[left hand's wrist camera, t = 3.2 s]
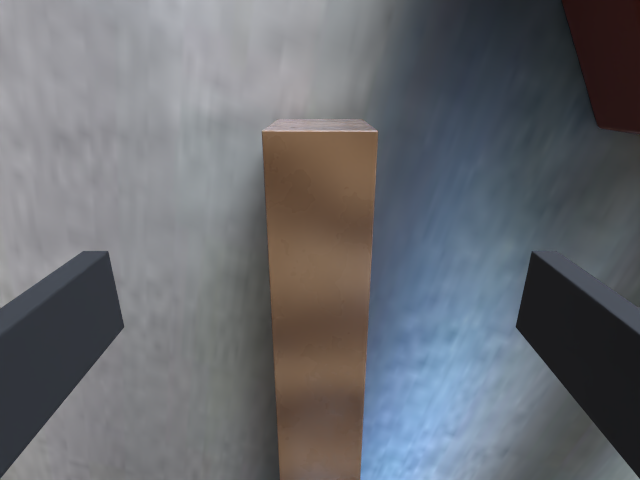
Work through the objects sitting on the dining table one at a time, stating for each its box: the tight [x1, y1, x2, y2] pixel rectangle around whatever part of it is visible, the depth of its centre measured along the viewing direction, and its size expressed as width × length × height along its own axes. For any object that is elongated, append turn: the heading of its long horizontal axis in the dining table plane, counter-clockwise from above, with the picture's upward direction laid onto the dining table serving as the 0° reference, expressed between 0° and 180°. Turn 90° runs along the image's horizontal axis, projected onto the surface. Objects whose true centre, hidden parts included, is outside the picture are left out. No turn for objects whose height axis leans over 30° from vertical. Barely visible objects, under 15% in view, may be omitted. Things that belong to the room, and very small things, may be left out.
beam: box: [262, 119, 378, 480], centre depth 31 cm, size 50×6×7 cm, turn 0°
